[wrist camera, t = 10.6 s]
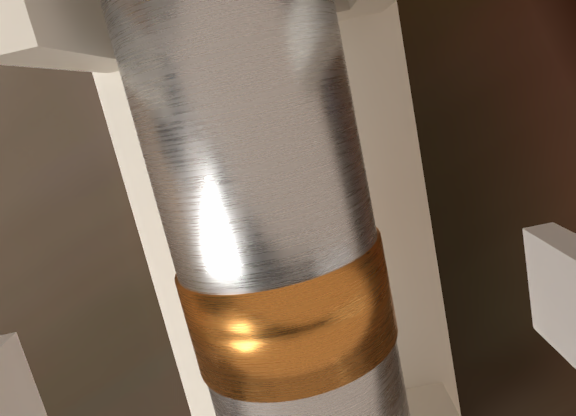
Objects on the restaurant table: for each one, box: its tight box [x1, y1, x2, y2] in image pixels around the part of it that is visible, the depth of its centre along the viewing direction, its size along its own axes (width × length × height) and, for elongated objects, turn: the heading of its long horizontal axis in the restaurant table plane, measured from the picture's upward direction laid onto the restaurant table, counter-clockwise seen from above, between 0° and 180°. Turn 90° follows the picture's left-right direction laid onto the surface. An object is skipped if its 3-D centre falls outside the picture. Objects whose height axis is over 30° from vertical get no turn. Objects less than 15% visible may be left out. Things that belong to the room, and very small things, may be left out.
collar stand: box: [0, 0, 461, 416], centre depth 18 cm, size 22×12×10 cm, turn 12°
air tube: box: [99, 0, 410, 416], centre depth 16 cm, size 26×6×6 cm, turn 12°
